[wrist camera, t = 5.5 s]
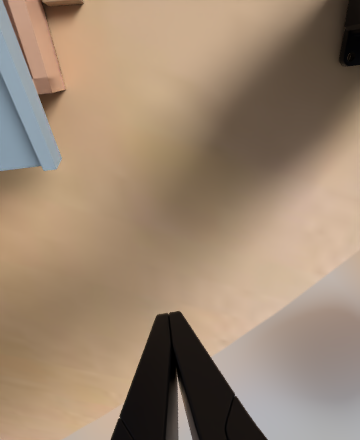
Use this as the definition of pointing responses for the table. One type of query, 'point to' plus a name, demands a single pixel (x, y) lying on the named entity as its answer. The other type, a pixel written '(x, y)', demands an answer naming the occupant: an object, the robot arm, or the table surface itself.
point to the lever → (21, 110)
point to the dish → (36, 44)
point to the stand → (62, 2)
